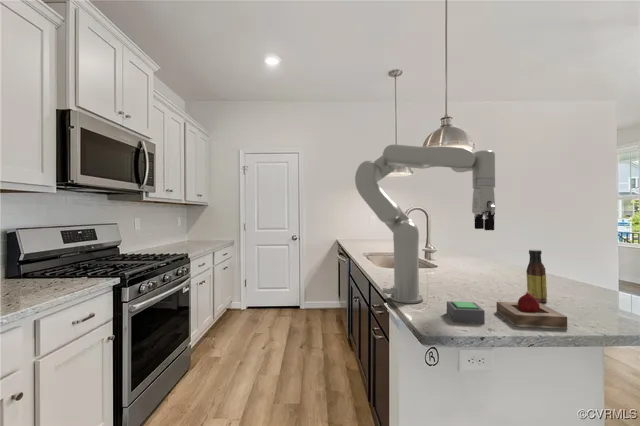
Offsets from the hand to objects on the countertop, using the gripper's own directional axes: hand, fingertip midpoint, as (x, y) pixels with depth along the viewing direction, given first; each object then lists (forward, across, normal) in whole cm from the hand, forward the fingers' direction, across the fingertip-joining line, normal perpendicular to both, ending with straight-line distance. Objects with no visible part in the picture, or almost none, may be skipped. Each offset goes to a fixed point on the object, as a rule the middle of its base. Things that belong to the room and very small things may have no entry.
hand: (484, 229), depth 115 cm
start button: (+27, +16, -12) cm, 33 cm away
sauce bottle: (+28, -8, +22) cm, 37 cm away
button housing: (+28, +16, -12) cm, 35 cm away
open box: (+28, +15, +8) cm, 33 cm away
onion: (+28, +15, +8) cm, 32 cm away
